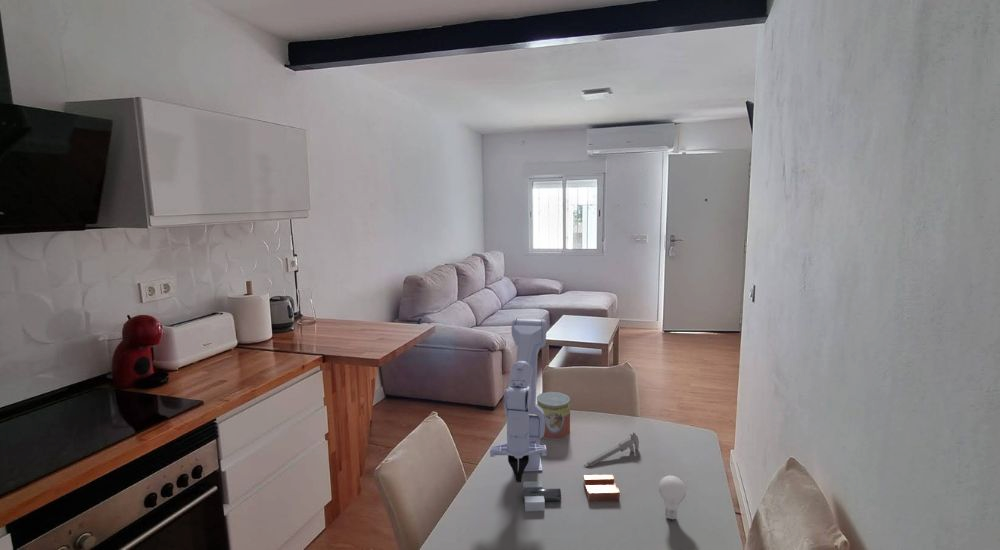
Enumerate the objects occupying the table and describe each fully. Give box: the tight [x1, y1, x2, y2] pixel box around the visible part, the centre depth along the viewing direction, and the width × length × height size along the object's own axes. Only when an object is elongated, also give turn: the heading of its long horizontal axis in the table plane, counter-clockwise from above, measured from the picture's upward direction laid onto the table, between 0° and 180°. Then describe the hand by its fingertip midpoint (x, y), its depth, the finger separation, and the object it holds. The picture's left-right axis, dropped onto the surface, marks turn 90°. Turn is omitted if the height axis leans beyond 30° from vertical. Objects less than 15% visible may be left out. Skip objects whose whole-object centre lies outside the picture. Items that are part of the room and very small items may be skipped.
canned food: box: [536, 391, 571, 441], centre depth 162 cm, size 11×11×12 cm
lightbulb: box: [658, 475, 687, 520], centre depth 118 cm, size 6×6×11 cm
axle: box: [521, 488, 562, 503], centre depth 127 cm, size 10×3×3 cm, turn 90°
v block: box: [583, 474, 621, 503], centre depth 130 cm, size 8×8×2 cm
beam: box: [522, 480, 546, 512], centre depth 127 cm, size 9×5×2 cm, turn 0°
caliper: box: [583, 432, 640, 468], centre depth 146 cm, size 20×1×6 cm, turn 117°
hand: (518, 479), depth 126 cm, fingers closed
